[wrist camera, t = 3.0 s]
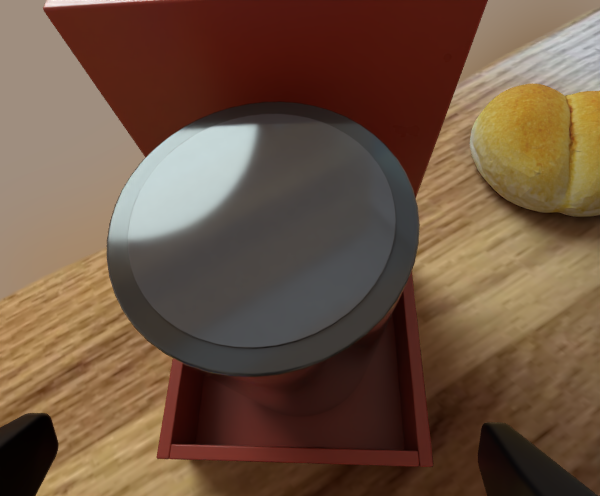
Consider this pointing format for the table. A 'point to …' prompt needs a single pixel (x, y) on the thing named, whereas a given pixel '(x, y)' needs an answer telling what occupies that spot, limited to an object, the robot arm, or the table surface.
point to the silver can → (267, 251)
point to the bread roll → (541, 149)
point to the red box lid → (276, 61)
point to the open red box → (312, 429)
